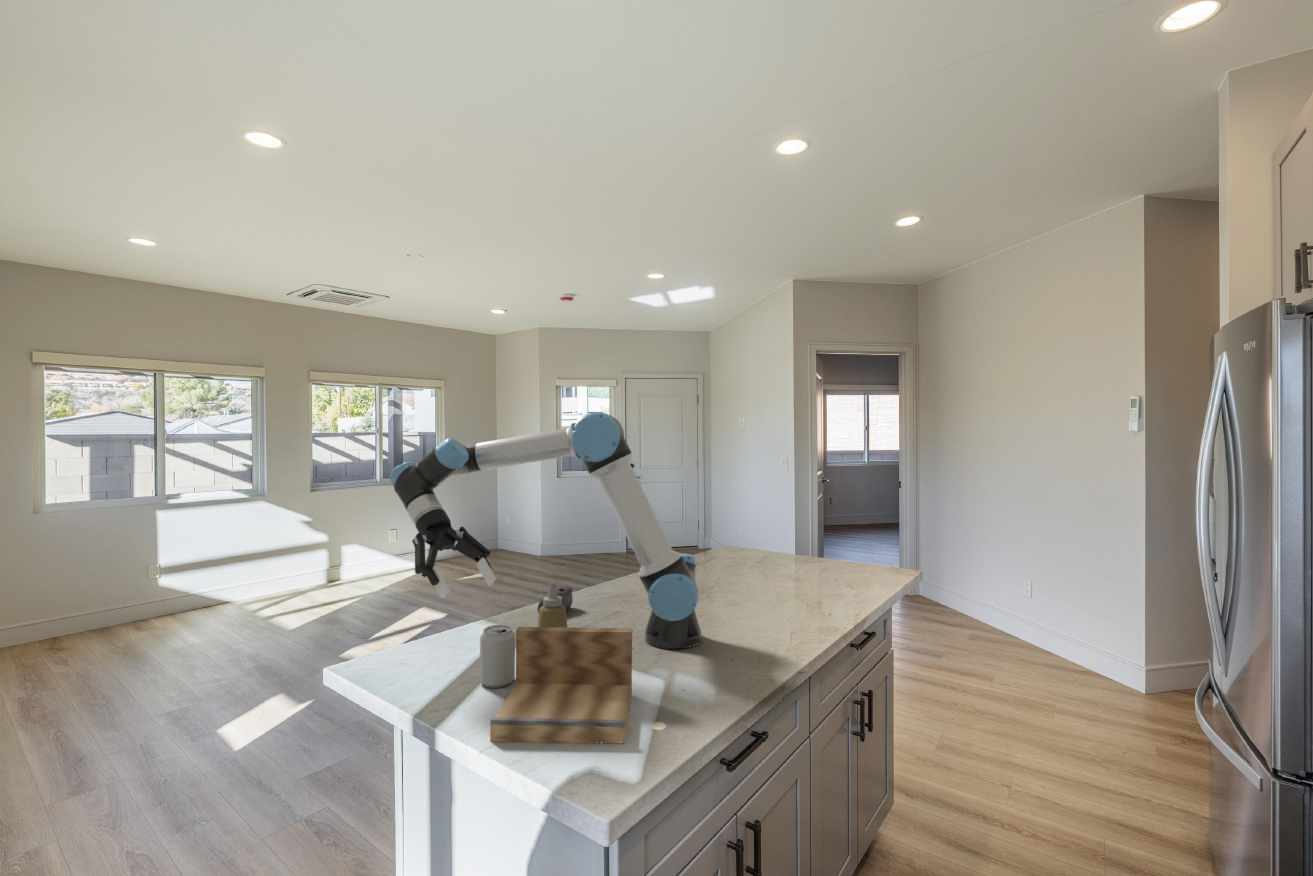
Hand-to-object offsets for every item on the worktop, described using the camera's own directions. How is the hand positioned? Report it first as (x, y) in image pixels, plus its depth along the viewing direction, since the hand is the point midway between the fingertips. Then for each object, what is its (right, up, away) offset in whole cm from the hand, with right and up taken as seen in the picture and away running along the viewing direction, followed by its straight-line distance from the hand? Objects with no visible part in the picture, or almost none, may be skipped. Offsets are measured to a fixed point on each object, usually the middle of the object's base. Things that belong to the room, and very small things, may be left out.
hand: (470, 588), depth 136 cm
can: (+8, -19, -6) cm, 22 cm away
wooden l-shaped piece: (+25, -19, -21) cm, 38 cm away
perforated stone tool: (+12, -19, +45) cm, 51 cm away
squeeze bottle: (+17, -19, +10) cm, 28 cm away
